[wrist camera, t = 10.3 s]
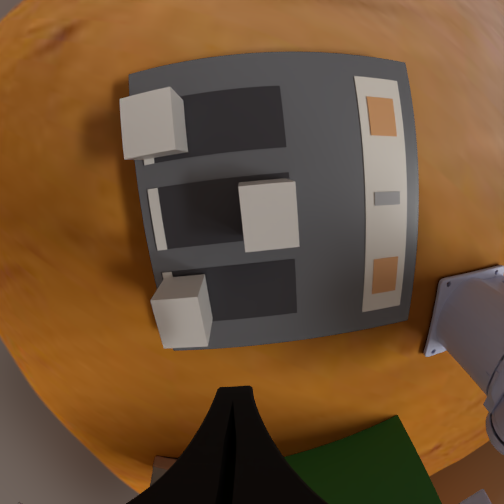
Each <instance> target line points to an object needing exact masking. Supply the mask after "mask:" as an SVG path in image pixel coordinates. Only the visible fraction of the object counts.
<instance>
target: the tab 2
mask: <svg viewBox="0 0 504 504" xmlns="http://www.w3.org/2000/svg"><path fill="white" fill-rule="evenodd" d="M150 301H151V305H152V309H153V312H154V316H155V320H156V323H157V327H158V330H159V333H160V337H161V340H162V343H163V347H164V348H188V347H207V346H208V343H209V337H210V331H211V325H212V320H213V317H212V312H211V306H210V301H209V295H208V290H207V284H206V278H205V274H201V275H191V276H180V277H169V278H164V279H163V281H162V283H161V284H160V286H159V287H158V289H157V290H156V292H155V294H154V295H153V297H152V299H151V300H150Z"/></svg>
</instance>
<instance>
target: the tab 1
mask: <svg viewBox="0 0 504 504" xmlns="http://www.w3.org/2000/svg"><path fill="white" fill-rule="evenodd" d="M120 117H121V131H122V143H123V153H124V160H146V159H151V158H156V157H162V156H167V155H173V154H179V153H186V152H188V146H187V136H186V126H185V115H184V103H183V99H182V98H181V97H180V96H179V95H178V94H177V93H176V92H175V91H174V90H173V89H172V88H171V87H166V88H161V89H157V90H152V91H148V92H144V93H140V94H136V95H132V96H128V97H125V98H121V99H120Z"/></svg>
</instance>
